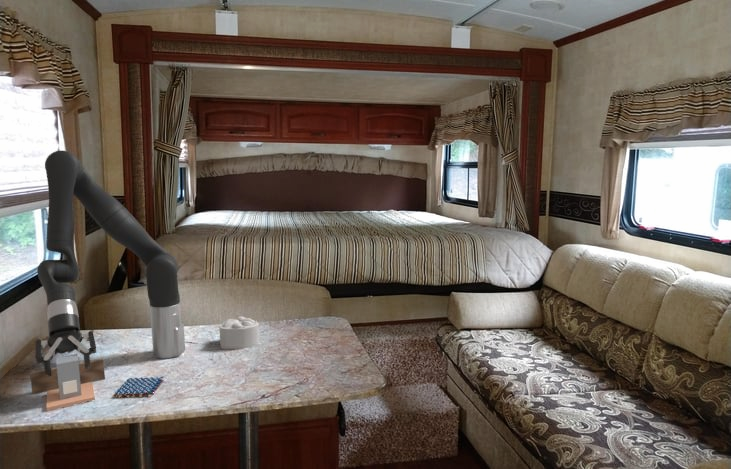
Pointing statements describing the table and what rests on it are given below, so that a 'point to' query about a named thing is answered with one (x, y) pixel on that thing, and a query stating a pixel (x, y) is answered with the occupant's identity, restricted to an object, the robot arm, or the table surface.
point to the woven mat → (139, 387)
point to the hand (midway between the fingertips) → (68, 371)
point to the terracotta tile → (56, 403)
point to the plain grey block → (68, 376)
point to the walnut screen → (47, 383)
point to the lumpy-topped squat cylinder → (239, 333)
